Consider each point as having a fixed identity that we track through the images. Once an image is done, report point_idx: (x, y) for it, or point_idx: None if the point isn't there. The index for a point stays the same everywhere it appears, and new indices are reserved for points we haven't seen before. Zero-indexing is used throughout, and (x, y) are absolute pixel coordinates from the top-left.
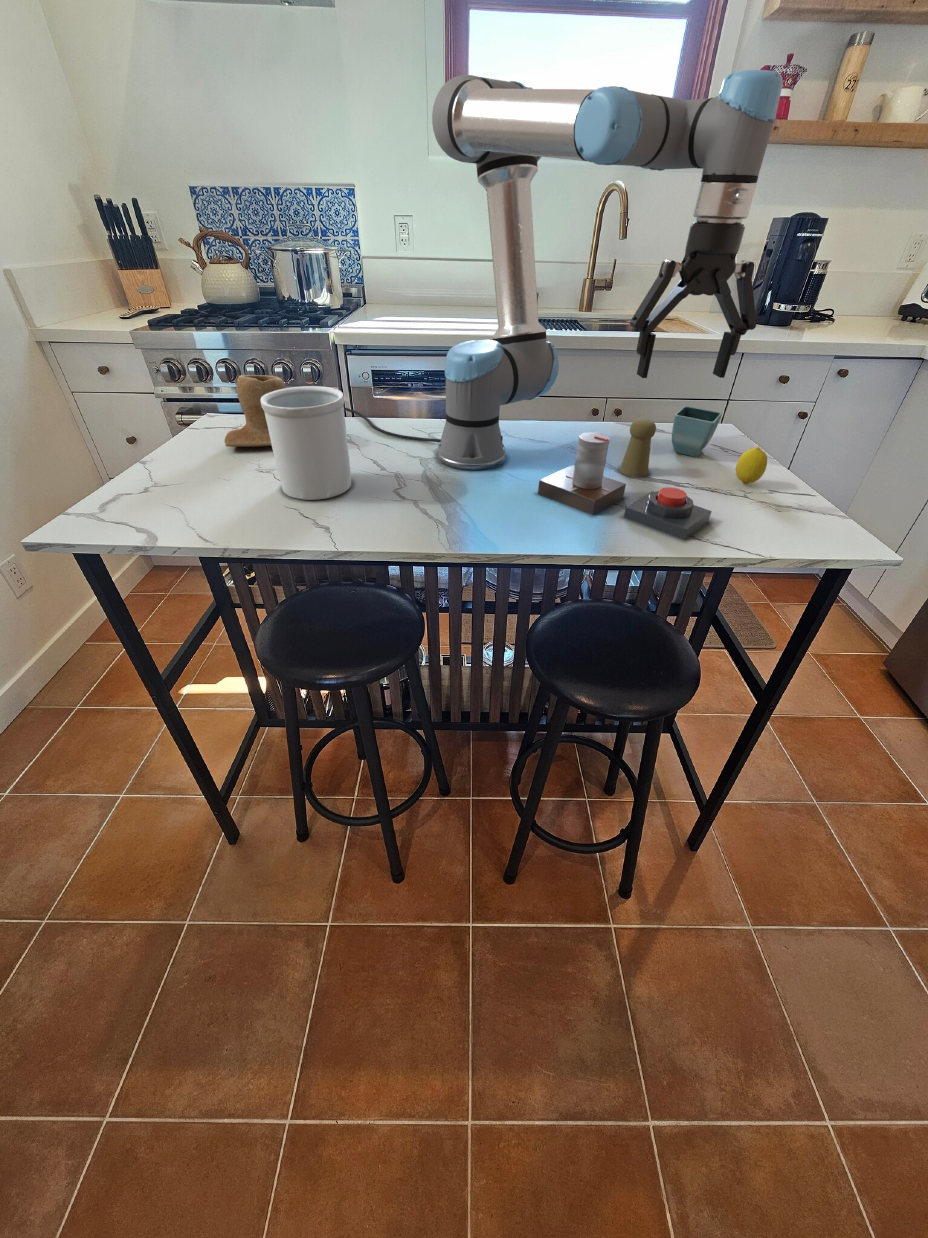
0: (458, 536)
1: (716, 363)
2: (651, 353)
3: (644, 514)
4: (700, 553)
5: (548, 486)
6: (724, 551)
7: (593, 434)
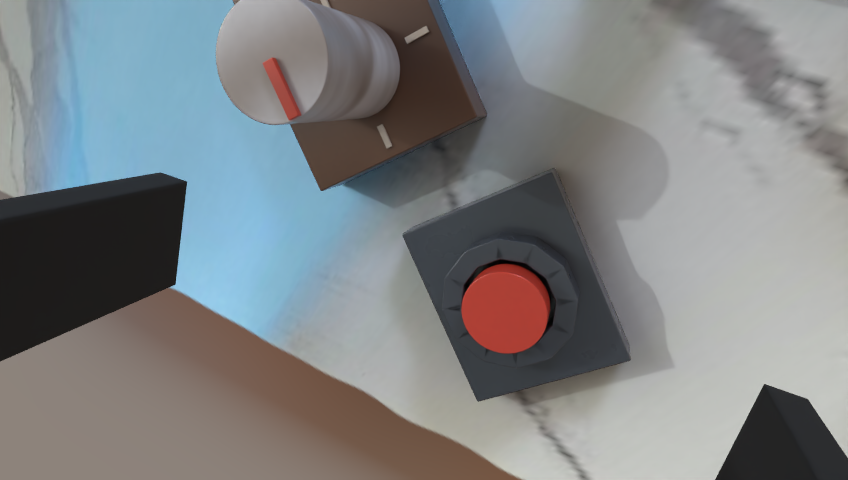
0: (43, 162)
1: (779, 454)
2: (32, 343)
3: (427, 288)
4: (480, 444)
5: None
6: (542, 466)
7: (280, 26)
